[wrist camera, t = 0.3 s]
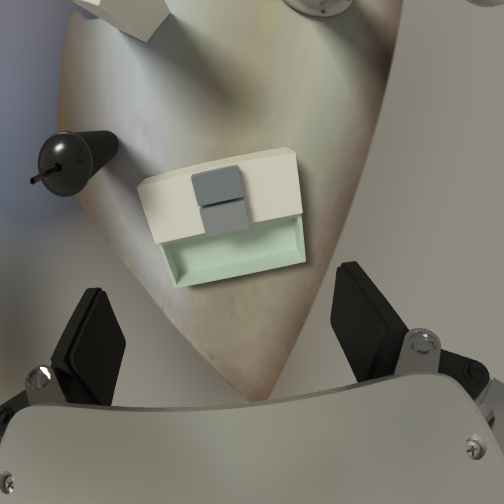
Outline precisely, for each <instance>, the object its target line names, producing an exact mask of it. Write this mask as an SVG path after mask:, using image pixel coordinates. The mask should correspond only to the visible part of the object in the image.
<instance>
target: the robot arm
mask: <svg viewBox="0 0 504 504" xmlns="http://www.w3.org/2000/svg"><path fill="white" fill-rule="evenodd" d="M284 1H285V2H286V3H287V4H288V5H290V6H291V7H292V8H294V9H296V10H298V11H300V12H302V13H305V14H308V15H311V16H316V17H330V16H334V15H338V14H339V13H341V12H343V11H345V10H346V9H347V8H348V7H349V6H350V5H351V3H352V1H353V0H284ZM466 1H467V2H469V3H471V4H474V5H477V6H480V7H493V6H498V5H502V4H504V0H466ZM321 12H323V13H321ZM330 318H331V319H330V320H331V325H332V328H333V330H334V332H335V334H336V336H337V339H338V341H339V342H340V345H341V347H342V349H343V351H344V353H345V356H346V358H347V360H348V362H349V364H350V366H351V368H352V371H353V373H354V375H355V377H356V380H357V382H358V383H355V384H351V385H347V386H343V387H338V388H333V389H329V390H324V391H319V392H314V393H309V394H303V395H297V396H292V397H286V398H279V399H272V400H265V401H257V402H248V403H239V404H228V405H217V406H200V407H171V408H170V407H169V408H149V407H147V408H146V407H119V406H111V404H112V399H113V395H114V390H115V386H116V382H117V377H118V374H119V369H120V366H121V362H122V358H123V354H124V350H125V347H126V341H125V338H124V335H123V333H122V331H121V328H120V326H119V324H118V321H117V319H116V317H115V314H114V312H113V309H112V307H111V304H110V302H109V299H108V297H107V294H106V292H105V291H102V289H101V288H88V289H86V291H85V293H84V294H83V296H82V298H81V300H80V301H79V303H78V305H77V307H76V309H75V311H74V312H73V314H72V316H71V318H70V320H69V322H68V324H67V326H66V328H65V330H64V332H63V334H62V336H61V338H60V340H59V342H58V344H57V346H56V348H55V350H54V353H53V355H52V357H51V359H50V360H51V361H52V363H51V366H49V365H46V364H42V365H38V366H35V367H34V368H32V369H31V370H30V371H29V372H28V373H27V375H26V377H25V381H24V385H25V390H24V391H22V392H21V393H19V394H18V395H16V396H15V397H13V398H12V399H10V400H8V401H7V402H5V403H4V404H2V405H1V406H0V504H504V384H503V383H502V382H500V381H499V380H497V379H495V378H493V380H491V379H490V378H489V372H488V370H487V368H486V367H485V366H484V365H483V364H482V363H480V362H478V361H476V360H473V359H470V358H467V357H463V356H461V355H458V354H455V353H452V352H448V351H446V350H443V349H441V344H440V343H441V342H440V340H439V338H438V337H437V336H436V335H435V334H434V333H433V332H431V331H429V330H427V329H422V328H416V329H412V330H410V331H409V329H408V328H407V327H406V325H405V324H404V322H403V321H402V320H401V318H400V317H399V316H398V314H397V313H396V312H395V310H394V309H393V308H392V306H391V305H390V303H389V302H388V301H387V299H386V298H385V297H384V296H383V294H382V293H381V292H380V291H379V290H378V288H377V287H376V286H375V285H374V283H373V282H372V281H371V279H370V278H369V277H368V276H367V274H366V273H365V272H364V271H363V269H362V268H361V267H360V266H359V264H358V263H357V262H356V261H353V262H345V263H342V264H341V267H338V268H337V272H336V281H335V289H334V296H333V304H332V310H331V317H330Z"/></svg>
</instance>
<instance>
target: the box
mask: <svg viewBox="0 0 504 504" xmlns="http://www.w3.org/2000/svg"><path fill="white" fill-rule="evenodd" d="M158 246H159V249H160V252H161V254H162V257H163V260H164V263H165V265H166V268H167V271H168V273H169V276H170V278H171V281H172V283H173V286H174V289H175V288H180V287H185V286H190V285H195V284H200V283H205V282H210V281H215V280H220V279H225V278H230V277H235V276H240V275H245V274H250V273H255V272H260V271H264V270H269V269H274V268H278V267H283V266H288V265H293V264H297V263H302V262H306V257H305V246H304V236H303V226H302V216H301V213H300V214H295V215H290V216H285V217H280V218H275V219H270V220H265V221H260V222H255V223H250V224H249V229H244V230H239V231H234V232H229V233H225V234H220V235H215V236H211V237H206V234H205V233H203V234H198V235H194V236H189V237H185V238H180V239H176V240H171V241H167V242H162V243H158Z"/></svg>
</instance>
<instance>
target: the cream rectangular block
mask: <svg viewBox="0 0 504 504" xmlns="http://www.w3.org/2000/svg"><path fill="white" fill-rule="evenodd" d="M236 164H237V168H238V173H239V178H240V183H241V188H242V193H243V199H244V203H245V208H246V213H247V218H248V223H249V224H250V223H255V222H260V221H265V220H270V219H275V218H280V217H285V216H290V215H295V214H300V213H303V212H302V203H301V194H300V186H299V178H298V170H297V162H296V155H295V152H294V151H292V150H291V149H289V148H287V147H284V148H278V149H272V150H266V151H261V152H255V153H250V154H244V155H239V156H234V157H230V158H225V159H220V160H215V161H211V162H207V163H202V164H198V165H194V166H190V167H185V168H181V169H178V170H174V171H170V172H166V173H162V174H159V175H155V176H151V177H148V178H145V179H144V180H143V181H142V182H141V183H140V184H139V185H138V186H137V190H138V194H139V197H140V200H141V203H142V206H143V209H144V212H145V215H146V218H147V221H148V224H149V227H150V230H151V233H152V236H153V239H154V241H155V244H158V243H162V242H167V241H171V240H176V239H180V238H185V237H189V236H194V235H198V234H203V233H205V230H204V226H203V223H202V219H201V215H200V212H199V209H200V206H198V204H197V200H196V196H195V192H194V189H193V185H192V181H191V176H192V174H195V173H199V172H203V171H208V170H212V169H217V168H221V167H226V166H231V165H236Z"/></svg>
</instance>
